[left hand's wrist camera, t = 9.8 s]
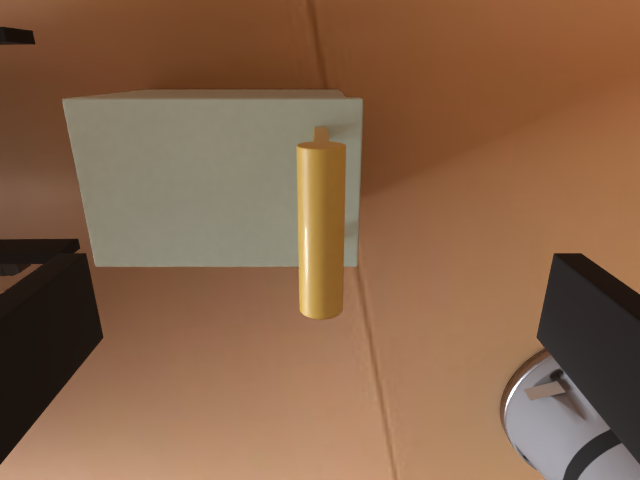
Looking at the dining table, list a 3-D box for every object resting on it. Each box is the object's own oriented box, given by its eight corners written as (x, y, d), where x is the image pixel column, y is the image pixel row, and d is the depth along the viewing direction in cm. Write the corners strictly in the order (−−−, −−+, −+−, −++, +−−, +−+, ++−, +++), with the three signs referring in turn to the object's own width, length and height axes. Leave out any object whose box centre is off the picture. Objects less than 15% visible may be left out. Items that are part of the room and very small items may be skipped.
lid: (361, 97, 24) (384, 112, 15) (356, 258, 27) (373, 345, 18) (73, 97, 23) (-65, 112, 15) (104, 259, 27) (5, 345, 18)
